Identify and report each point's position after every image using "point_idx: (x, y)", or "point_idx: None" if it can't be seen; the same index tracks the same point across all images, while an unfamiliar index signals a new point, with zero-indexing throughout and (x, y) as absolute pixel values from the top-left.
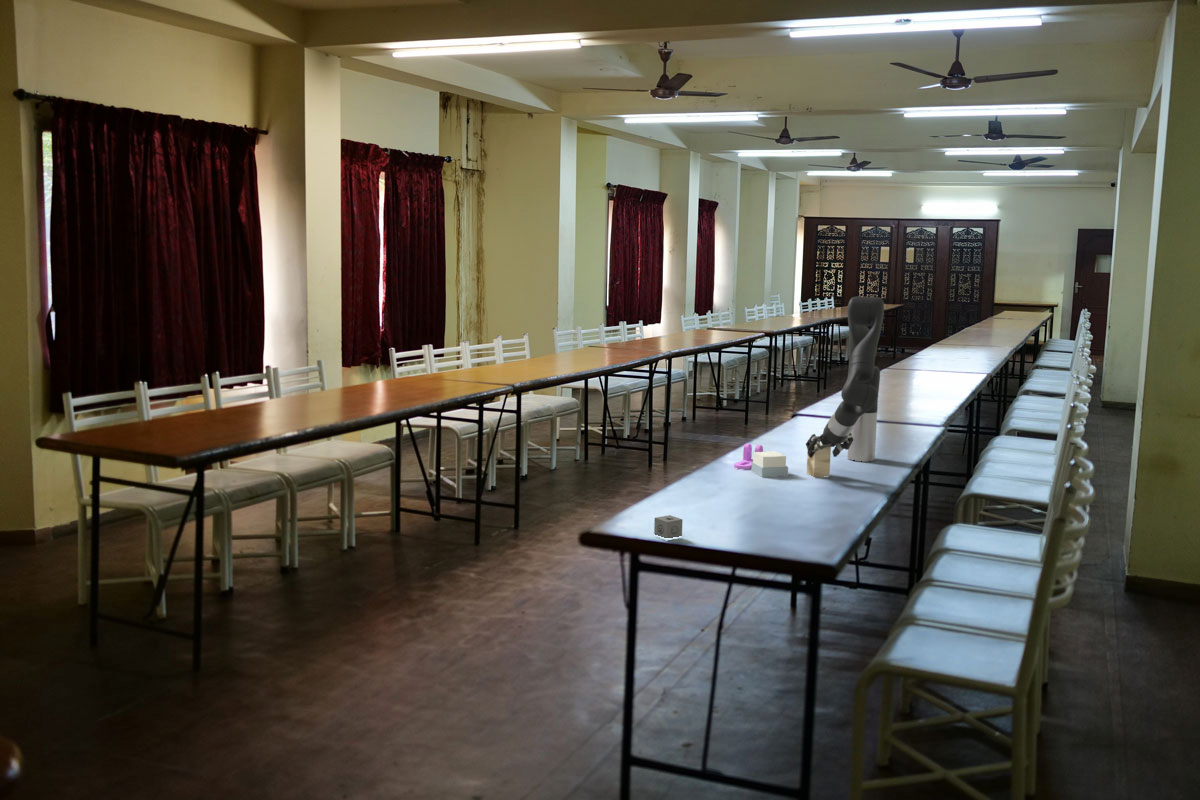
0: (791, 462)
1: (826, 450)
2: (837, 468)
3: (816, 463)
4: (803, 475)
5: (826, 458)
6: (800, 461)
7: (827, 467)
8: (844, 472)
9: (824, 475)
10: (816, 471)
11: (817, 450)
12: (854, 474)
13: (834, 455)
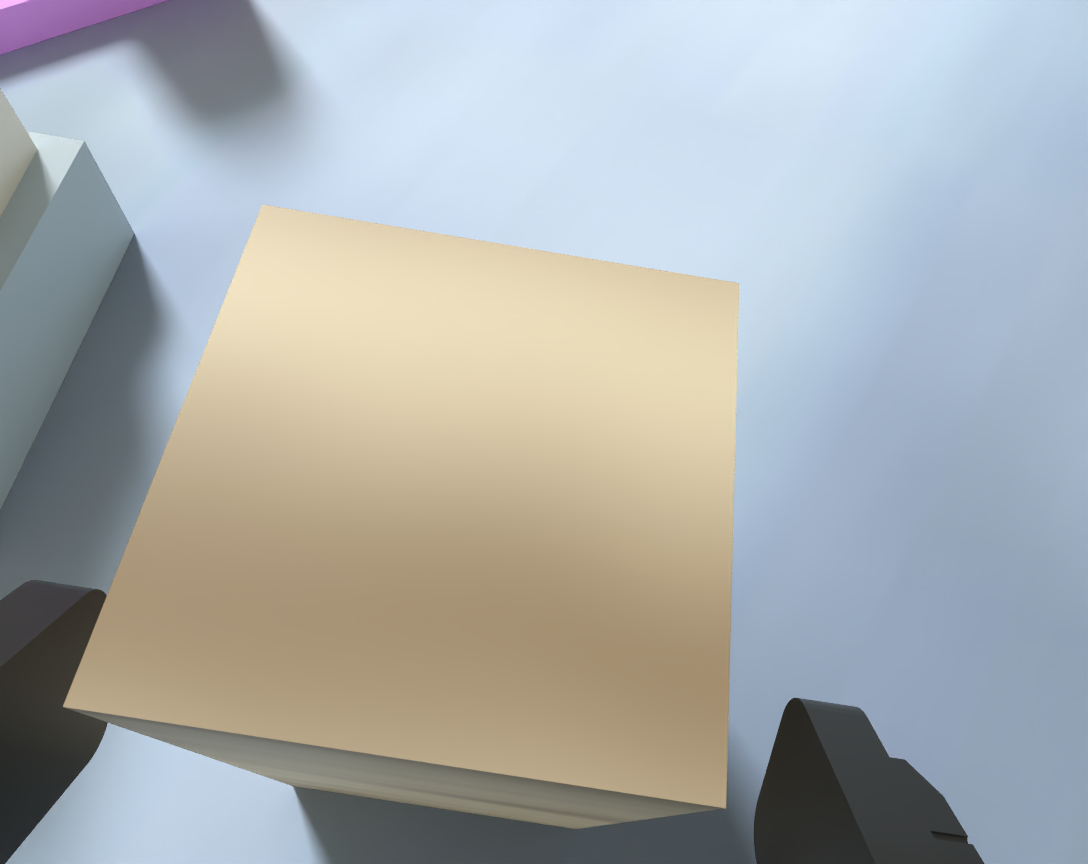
0: (582, 15)
1: (538, 786)
2: (957, 374)
3: (282, 771)
4: None
5: (531, 802)
6: (698, 13)
7: (547, 818)
8: (960, 604)
9: (486, 813)
10: (320, 785)
11: (203, 739)
12: (1065, 780)
13: (766, 853)
